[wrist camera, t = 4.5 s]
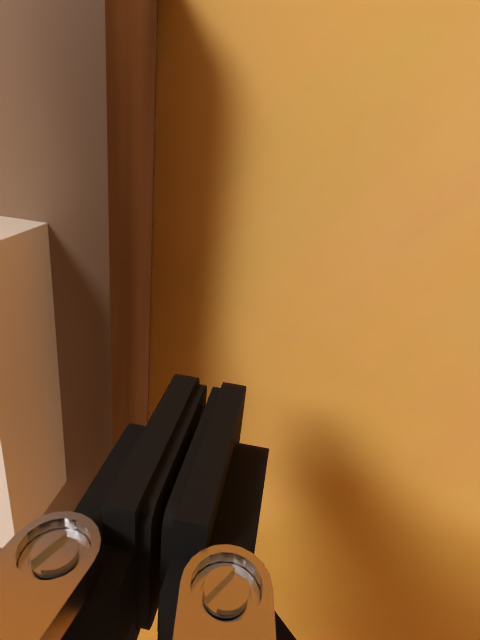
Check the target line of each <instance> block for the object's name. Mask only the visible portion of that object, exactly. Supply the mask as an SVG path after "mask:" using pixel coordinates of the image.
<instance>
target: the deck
mask: <svg viewBox="0 0 480 640" xmlns="http://www.w3.org/2000/svg"><path fill="white" fill-rule="evenodd" d="M157 9H158V0H0V216H4V217H11V218H18V219H24V220H31V221H38V222H44V223H48V236H49V249H50V263H51V276H52V290H53V303H54V317H55V330H56V344H57V357H58V370H59V384H60V397H61V411H62V424H63V438H64V451H65V465H66V478H67V481H66V483H65V484H64V486H63V487H62V488H61V490H60V491H59V493H58V494H57V496H56V497H55V498H54V500H53V501H52V503H51V504H50V505H49V507H48V508H47V510H46V511H45V513H44V514H43V515H47V514H50V513H54V512H63V511H71V512H73V511H74V510H75V508H76V507H77V505H78V503H79V502H80V500H81V499H82V497H83V495H84V494H85V492H86V491H87V489H88V487H89V486H90V484H91V483H92V481H93V479H94V478H95V476H96V475H97V473H98V472H99V470H100V468H101V467H102V465H103V464H104V462H105V460H106V459H107V457H108V456H109V454H110V452H111V451H112V449H113V448H114V446H115V444H116V443H117V441H118V440H119V438H120V436H121V435H122V433H123V432H124V430H125V429H126V427H127V426H128V425H129V424H131V423H133V424H139V425H144V426H146V425H147V422H148V381H149V339H150V298H151V257H152V215H153V174H154V133H155V92H156V50H157ZM43 515H42V516H43ZM1 549H2V548H0V550H1Z"/></svg>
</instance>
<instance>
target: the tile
mask: <svg viewBox="0 0 480 640" xmlns="http://www.w3.org/2000/svg"><path fill="white" fill-rule="evenodd" d="M66 481H67V478H66V465H65V451H64V438H63V424H62V411H61V397H60V384H59V370H58V357H57V344H56V330H55V317H54V303H53V290H52V276H51V263H50V249H49V236H48V223H44V222H38V221H31V220H24V219H18V218H11V217H4V216H0V548H3V547H4V546H5V545H6V544H7V543H8V542H9V541H10V540H11V539H12V537H13V536H14V535H15V534H16V533H17V532H18V531H20V530H21V529H22V528H23V527H24V526H25V525H27V524H28V523H29V522H31V521H33V520H35V519H37V518H39V517H41V516H42V515H43V514H44V513H45V511H46V510H47V508H48V507H49V505H50V504H51V503H52V501H53V500H54V498H55V497H56V496H57V494H58V493H59V491H60V490H61V488H62V487H63V486H64V484H65V483H66Z"/></svg>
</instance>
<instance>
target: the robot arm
mask: <svg viewBox="0 0 480 640" xmlns="http://www.w3.org/2000/svg"><path fill="white" fill-rule="evenodd" d="M199 383H200V382H199V378H196V377H190V376H185V375H179V374H175V376H174V377H173V379H172V381H171V382H170V384H169V386H168V388H167V389H166V391H165V393H164V395H163V397H162V398H161V400H160V402H159V404H158V405H157V407H156V409H155V411H154V413H153V414H152V416H151V418H150V420H149V421H148V423H147V425H146V426H144V425H139V424H133V423H131V424H129V425H128V426H127V427H126V429H125V430H124V432H123V433H122V435H121V436H120V438H119V440H118V441H117V443H116V444H115V446H114V448H113V449H112V451H111V452H110V454H109V456H108V457H107V459H106V460H105V462H104V464H103V465H102V467H101V468H100V470H99V472H98V473H97V475H96V476H95V478H94V479H93V481H92V483H91V484H90V486H89V487H88V489H87V491H86V492H85V494H84V495H83V497H82V499H81V500H80V502H79V503H78V505H77V507H76V508H75V510H74V511H73V512H71V511H63V512H54V513H50V514H47V515H43V516H41V517H39V518H37V519H35V520H33V521H31V522H29V523H28V524H27V525H25V526H24V527H23V528H22V529H21V530H20V531H18V532H17V533H16V534H15V535H14V536H13V537H12V539H11V540H10V541H9V542H8V543H7V544H6V545H5V546H4V547H3V548H2V549H1V550H0V640H137V638H138V635H139V632H140V629H141V628H143V629H147V630H150V628H151V626H152V624H153V621H154V618H155V615H156V612H157V609H158V640H296V639H295V637H294V636H293V635H292V633H291V632H290V631H289V629H288V628H287V627H286V625H285V624H284V623H283V621H282V620H281V619H280V617H279V616H278V615H277V613H276V612H275V611H274V597H273V586H272V582H271V577H270V574H269V572H268V570H267V569H266V567H265V565H264V564H263V562H262V561H261V560H260V559H259V558H258V557H256V556H255V555H254V551H255V544H256V537H257V530H258V523H259V516H260V509H261V502H262V495H263V488H264V481H265V474H266V466H267V459H268V452H269V449H268V448H263V447H257V446H252V445H247V444H241V443H239V441H240V433H241V425H242V418H243V410H244V402H245V394H246V386H242V385H237V384H231V383H225V382H223V384H222V386H221V388H218V387H213V388H212V390H211V393H210V395H209V398H208V401H207V403H206V394H207V386H206V385H200V384H199ZM158 605H159V606H158Z"/></svg>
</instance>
